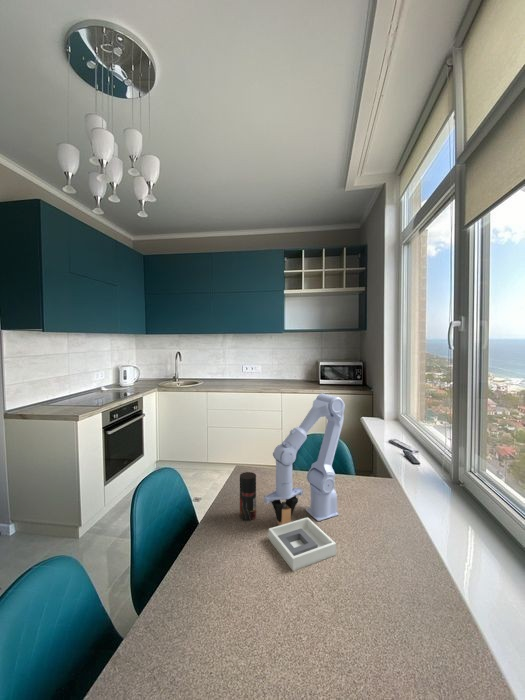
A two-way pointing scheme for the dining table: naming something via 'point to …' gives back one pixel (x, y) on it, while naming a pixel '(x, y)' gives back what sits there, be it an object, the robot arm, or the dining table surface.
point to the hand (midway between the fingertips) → (284, 518)
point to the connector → (285, 514)
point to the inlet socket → (297, 535)
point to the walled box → (307, 558)
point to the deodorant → (247, 496)
